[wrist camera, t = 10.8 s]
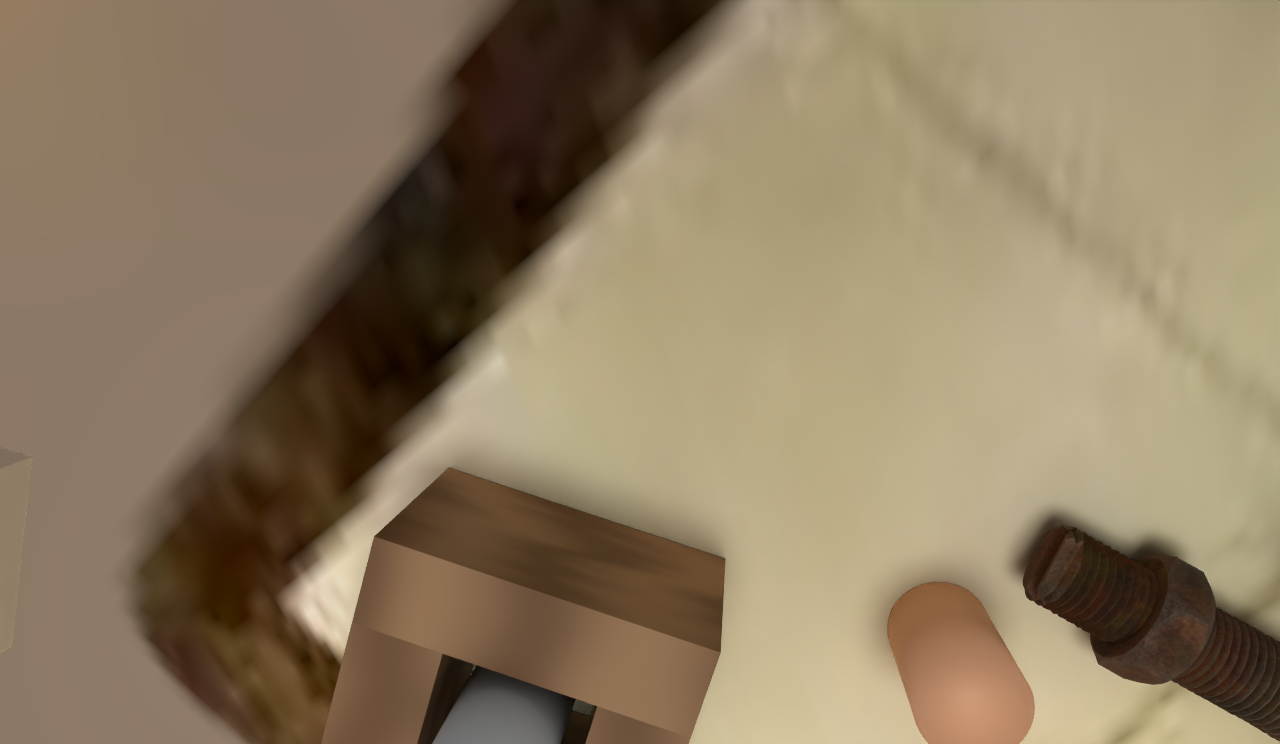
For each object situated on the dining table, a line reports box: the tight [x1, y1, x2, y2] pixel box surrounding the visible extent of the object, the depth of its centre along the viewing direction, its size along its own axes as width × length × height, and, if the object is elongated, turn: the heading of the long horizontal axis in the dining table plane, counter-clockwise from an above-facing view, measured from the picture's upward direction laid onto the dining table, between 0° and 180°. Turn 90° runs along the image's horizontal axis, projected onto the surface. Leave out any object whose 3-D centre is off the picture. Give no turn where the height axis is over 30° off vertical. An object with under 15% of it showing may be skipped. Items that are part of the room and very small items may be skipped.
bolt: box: [1023, 527, 1280, 741], centre depth 35 cm, size 6×5×15 cm
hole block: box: [321, 468, 725, 744], centre depth 36 cm, size 12×12×8 cm
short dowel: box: [887, 582, 1035, 744], centre depth 35 cm, size 4×4×6 cm
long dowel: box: [432, 665, 575, 744], centre depth 33 cm, size 4×4×14 cm
